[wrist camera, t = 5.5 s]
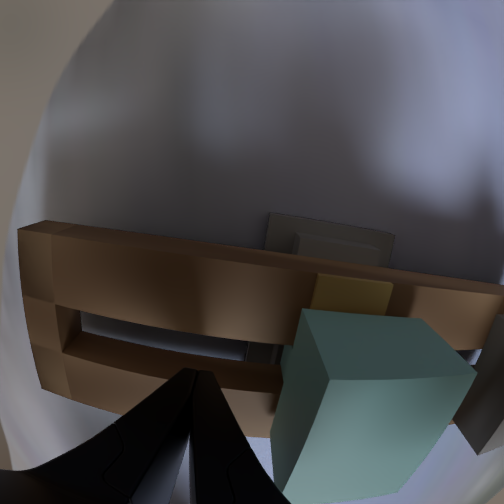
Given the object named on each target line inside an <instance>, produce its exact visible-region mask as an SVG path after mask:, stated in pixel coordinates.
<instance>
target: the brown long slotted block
mask: <svg viewBox="0 0 504 504" xmlns="http://www.w3.org/2000/svg"><path fill="white" fill-rule="evenodd" d="M17 230H18V255H19V269H20V279H21V289H22V297H23V304H24V311H25V317H26V323H27V329H28V334H29V339H30V344H31V348H32V353H33V357H34V361H35V365H36V369H37V373H38V377H39V380H40V384H41V387H42V389H44V390H47V391H50V392H52V393H55V394H57V395H60V396H63V397H66V398H68V399H71V400H74V401H77V402H80V403H83V404H86V405H89V406H93V407H96V408H99V409H102V410H106V411H109V412H113V413H117V414H120V415H124V414H125V413H127V412H128V411H129V410H131V409H132V408H133V407H135V406H136V405H137V404H138V403H140V402H141V401H142V400H144V399H145V398H146V397H147V396H149V395H150V394H151V393H152V392H154V391H155V390H156V389H157V388H159V387H160V386H161V385H162V384H164V383H165V382H166V381H167V380H169V379H170V378H171V377H172V376H174V375H175V374H176V373H177V372H179V371H180V370H181V369H182V368H184V367H187V368H193V369H197V370H198V371H199V370H206V371H211V372H213V373H214V375H215V378H216V380H217V382H218V384H219V386H220V388H221V390H222V392H223V394H224V396H225V398H226V400H227V402H228V404H229V406H230V408H231V410H232V412H233V414H234V416H235V418H236V420H237V422H238V424H239V426H240V428H241V430H242V432H243V433H244V435H245V436H248V437H261V438H270V429H271V426H272V423H273V419H274V416H275V412H276V409H277V405H278V402H279V398H280V394H281V391H282V387H283V383H284V382H283V376H282V371H281V365H280V362H281V357H282V353H283V349H284V345H292V346H293V345H294V340H295V336H296V332H297V328H298V324H299V320H300V315H301V311H302V308H304V309H313V310H323V311H333V312H344V313H355V314H367V315H379V316H392V317H407V318H421V319H422V320H423V321H425V322H426V323H427V324H428V325H429V326H430V327H431V328H432V329H433V330H434V331H435V332H436V333H437V334H438V335H440V336H441V337H442V338H443V339H444V340H445V341H446V342H447V343H448V344H449V345H450V346H451V347H452V348H453V349H454V350H473V349H482V351H481V353H480V356H479V358H478V360H477V362H476V364H475V365H470V366H471V367H472V368H473V369H474V370H475V371H476V372H477V375H476V377H475V379H474V381H473V383H472V385H471V387H470V389H469V390H468V392H467V394H466V396H465V398H464V399H463V401H462V403H461V405H460V406H459V408H458V410H457V411H456V413H455V415H454V416H453V418H452V420H451V421H450V423H449V424H448V425H451V424H456V425H457V427H458V428H459V430H460V431H461V433H462V434H463V435H464V437H465V438H466V440H467V441H468V443H469V444H470V445H471V447H472V448H473V450H474V451H475V453H476V454H477V456H478V455H480V454H483V453H486V452H488V451H491V450H493V449H496V448H498V447H500V446H503V445H504V285H499V284H492V283H486V282H479V281H472V280H465V279H459V278H452V277H445V276H438V275H431V274H425V273H418V272H411V271H404V270H397V269H390V268H388V264H389V260H390V256H391V252H392V247H393V243H394V239H395V235H393V234H390V233H386V232H381V231H376V230H370V229H365V228H360V227H354V226H349V225H343V224H337V223H332V222H326V221H320V220H314V219H308V218H302V217H296V216H289V215H283V214H277V213H270V215H269V221H268V227H267V233H266V239H265V245H264V250H258V249H251V248H243V247H236V246H229V245H222V244H215V243H208V242H201V241H194V240H186V239H179V238H172V237H165V236H158V235H151V234H143V233H136V232H129V231H122V230H114V229H107V228H100V227H92V226H85V225H78V224H71V223H63V222H56V221H48V220H44V221H41V222H38V223H35V224H31V225H28V226H25V227H22V228H19V229H17ZM80 311H84V312H88V313H92V314H96V315H101V316H105V317H110V318H114V319H119V320H124V321H128V322H133V323H138V324H143V325H148V326H154V327H159V328H165V329H170V330H176V331H182V332H188V333H194V334H201V335H207V336H214V337H221V338H229V339H236V340H244V341H248V347H247V353H246V358H245V361H237V360H229V359H222V358H214V357H207V356H201V355H194V354H188V353H182V352H176V351H171V350H165V349H160V348H155V347H150V346H145V345H140V344H135V343H130V342H126V341H121V340H117V339H113V338H108V337H104V336H100V335H96V334H92V333H88V332H84V331H82V326H81V316H80Z"/></svg>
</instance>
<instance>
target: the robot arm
mask: <svg viewBox="0 0 504 504" xmlns="http://www.w3.org/2000/svg"><path fill="white" fill-rule="evenodd" d="M189 435H190V438H189ZM188 440H189V481H190V504H291V503H290V501H289V500H288V499H287V498H286V497H285V496H284V494H283V493H282V492H281V491H280V490H279V489H278V487H277V486H276V485H275V484H274V482H273V481H272V480H271V478H270V477H269V476H268V474H267V473H266V472H265V470H264V468H263V467H262V465H261V464H260V462H259V460H258V459H257V457H256V455H255V453H254V452H253V450H252V449H251V447H250V445H249V443H248V441H247V439H246V437H245V435H244V433H243V432H242V430H241V428H240V426H239V424H238V422H237V420H236V418H235V416H234V414H233V412H232V410H231V408H230V406H229V404H228V402H227V400H226V398H225V396H224V394H223V392H222V390H221V388H220V386H219V384H218V382H217V380H216V378H215V375H214V373H213V372H211V371H206V370H199V371H198V370H197V369H193V368H187V367H184V368H182V369H181V370H180V371H179V372H177V373H176V374H175V375H174V376H172V377H171V378H170V379H169V380H167V381H166V382H165V383H164V384H162V385H161V386H160V387H159V388H157V389H156V390H155V391H154V392H152V393H151V394H150V395H149V396H147V397H146V398H145V399H144V400H142V401H141V402H140V403H138V404H137V405H136V406H135V407H133V408H132V409H131V410H129V411H128V412H127V413H125V414H124V415H123V416H122V417H120V418H119V419H118V420H116V421H115V422H114V424H113V423H112V424H111V425H109V426H108V427H107V428H105V429H104V430H103V431H101V432H100V433H98V434H97V435H95V436H94V437H93V438H91V439H89V440H88V441H86V442H84V443H83V444H81V445H79V446H77V447H76V448H74V449H72V450H70V451H68V452H66V453H64V454H62V455H60V456H58V457H56V458H54V459H52V460H50V461H48V462H46V463H44V464H42V465H40V466H38V467H35V468H32V469H28V470H21V471H13V470H3V469H0V504H169V501H170V498H171V495H172V491H173V488H174V485H175V482H176V479H177V475H178V472H179V469H180V466H181V463H182V459H183V456H184V453H185V450H186V447H187V443H188Z"/></svg>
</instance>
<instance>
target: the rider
mask: <svg viewBox="0 0 504 504" xmlns="http://www.w3.org/2000/svg"><path fill="white" fill-rule="evenodd" d="M280 365H281V371H282V376H283V382H284V383H283V387H282V391H281V394H280V398H279V402H278V405H277V409H276V412H275V416H274V419H273V423H272V426H271V429H270V442H271V453H272V464H273V476H274V484H275V485H276V486H277V487H278V489H279V490H280V491H281V492H282V493H283V494H284V496H285V497H286V498H287V499H288V500H289V501H290V503H291V504H323V503H334V502H343V501H351V500H358V499H365V498H371V497H377V496H382V495H387V494H392V493H397V492H398V491H399V490H400V489H401V488H402V486H403V485H404V484H405V483H406V482H407V480H408V479H409V478H410V477H411V476H412V474H413V473H414V472H415V471H416V469H417V468H418V467H419V465H420V464H421V463H422V462H423V460H424V459H425V458H426V456H427V455H428V454H429V452H430V451H431V449H432V448H433V447H434V445H435V444H436V442H437V441H438V439H439V438H440V436H441V435H442V433H443V432H444V430H445V429H446V427H447V426H448V424H449V423H450V421H451V420H452V418H453V416H454V415H455V413H456V411H457V410H458V408H459V406H460V405H461V403H462V401H463V399H464V398H465V396H466V394H467V392H468V390H469V389H470V387H471V385H472V383H473V381H474V379H475V377H476V375H477V372H476V371H475V370H474V369H473V368H472V367H471V366H470V365H469V364H468V363H467V362H466V361H465V360H464V359H463V358H462V357H461V356H460V355H459V354H458V353H457V352H456V351H455V350H454V349H453V348H452V347H451V346H450V345H449V344H448V343H447V342H446V341H445V340H444V339H443V338H442V337H441V336H440V335H438V334H437V333H436V332H435V331H434V330H433V329H432V328H431V327H430V326H429V325H428V324H427V323H426V322H425V321H423V320H422V319H421V318H407V317H392V316H379V315H367V314H355V313H344V312H333V311H323V310H313V309H304V308H302V311H301V315H300V320H299V324H298V328H297V332H296V336H295V340H294V345H293V346H292V345H284V349H283V353H282V357H281V362H280Z"/></svg>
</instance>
